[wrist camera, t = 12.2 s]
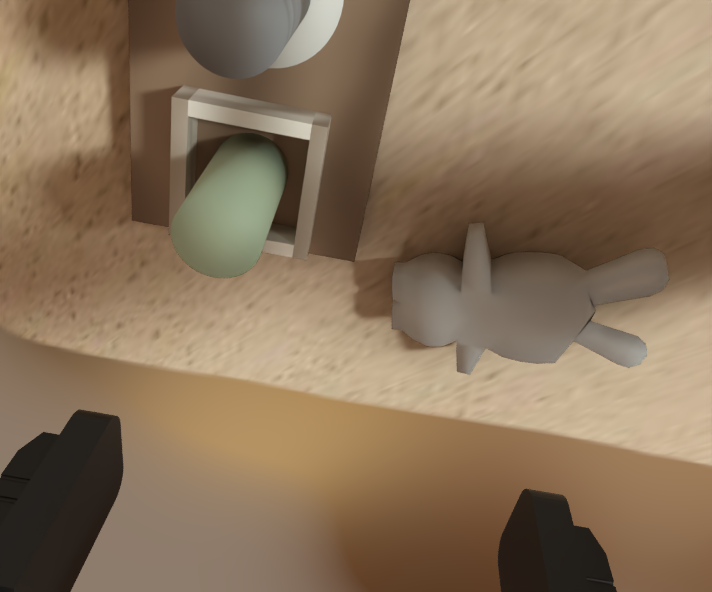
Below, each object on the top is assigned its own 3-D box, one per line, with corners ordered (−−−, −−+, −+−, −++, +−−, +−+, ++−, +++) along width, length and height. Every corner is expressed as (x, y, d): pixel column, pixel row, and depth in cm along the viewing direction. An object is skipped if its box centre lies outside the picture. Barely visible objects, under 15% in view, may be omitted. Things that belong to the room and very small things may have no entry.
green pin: (292, 140, 33) (266, 206, 26) (283, 208, 35) (257, 285, 29) (217, 125, 33) (171, 188, 26) (212, 194, 35) (169, 269, 28)
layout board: (428, -95, 28) (441, -85, 20) (355, 249, 38) (345, 345, 30) (137, -159, 27) (34, -174, 20) (140, 209, 37) (72, 297, 29)
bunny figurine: (389, 246, 34) (689, 264, 31) (399, 205, 38) (665, 219, 35) (388, 381, 39) (645, 406, 36) (397, 331, 43) (628, 351, 41)
